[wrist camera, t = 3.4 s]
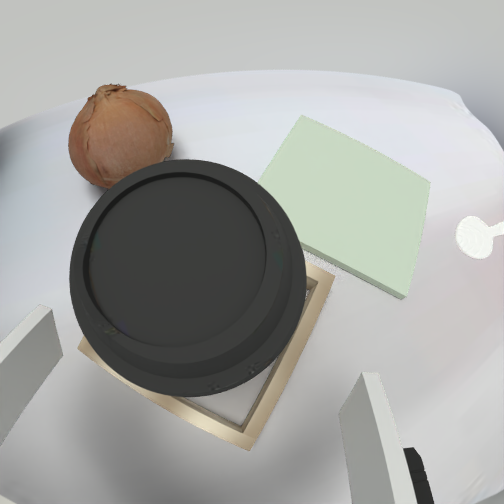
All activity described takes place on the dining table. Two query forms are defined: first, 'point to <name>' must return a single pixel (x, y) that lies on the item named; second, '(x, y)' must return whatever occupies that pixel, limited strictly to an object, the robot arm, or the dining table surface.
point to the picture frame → (272, 388)
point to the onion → (119, 135)
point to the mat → (350, 204)
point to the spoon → (476, 237)
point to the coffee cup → (187, 278)
